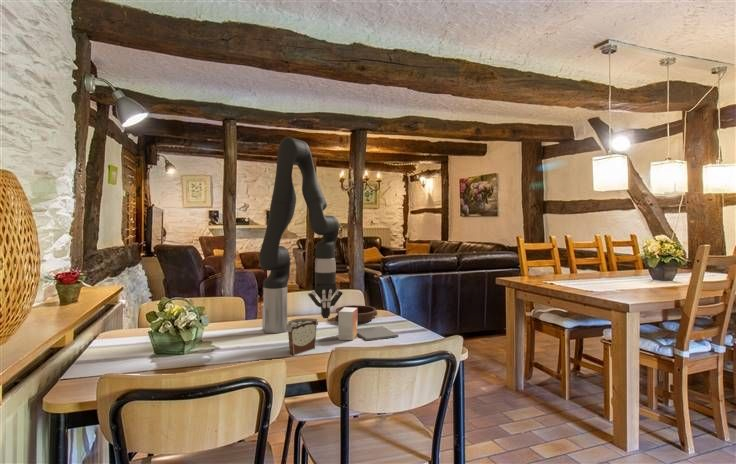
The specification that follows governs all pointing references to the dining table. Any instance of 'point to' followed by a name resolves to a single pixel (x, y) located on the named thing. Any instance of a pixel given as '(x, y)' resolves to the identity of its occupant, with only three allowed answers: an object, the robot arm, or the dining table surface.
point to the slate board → (375, 333)
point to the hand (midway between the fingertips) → (325, 317)
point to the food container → (301, 335)
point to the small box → (347, 323)
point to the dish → (361, 313)
